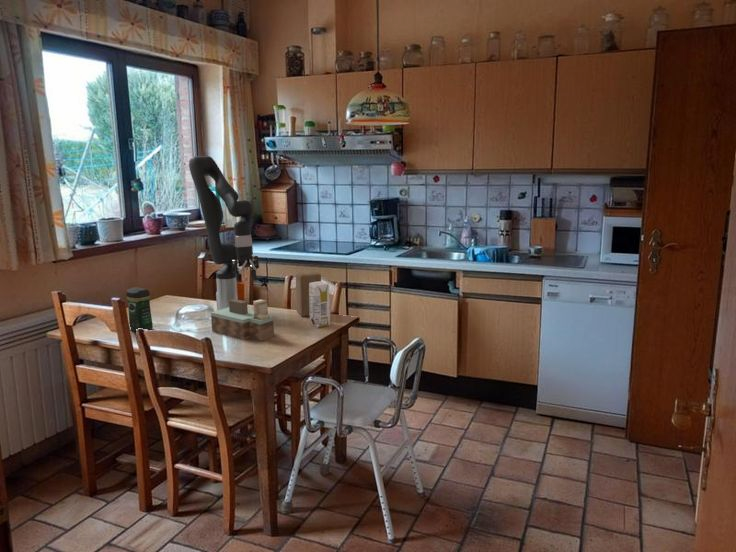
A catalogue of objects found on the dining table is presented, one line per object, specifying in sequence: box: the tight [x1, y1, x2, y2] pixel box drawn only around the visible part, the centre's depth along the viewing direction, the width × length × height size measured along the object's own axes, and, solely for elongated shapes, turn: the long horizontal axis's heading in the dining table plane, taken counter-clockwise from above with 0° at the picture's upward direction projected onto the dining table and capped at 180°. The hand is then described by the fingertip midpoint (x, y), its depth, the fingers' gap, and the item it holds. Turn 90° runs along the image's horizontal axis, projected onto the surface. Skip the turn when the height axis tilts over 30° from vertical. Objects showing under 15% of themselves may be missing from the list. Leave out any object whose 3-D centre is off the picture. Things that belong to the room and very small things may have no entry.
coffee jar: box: [126, 286, 154, 332], centre depth 245 cm, size 10×8×19 cm
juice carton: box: [309, 280, 331, 329], centre depth 250 cm, size 8×9×19 cm
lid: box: [210, 299, 274, 324], centre depth 239 cm, size 27×13×8 cm, turn 54°
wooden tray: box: [210, 315, 275, 342], centre depth 240 cm, size 27×13×7 cm, turn 54°
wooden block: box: [295, 270, 322, 318], centre depth 268 cm, size 10×10×20 cm
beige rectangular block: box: [252, 298, 269, 320], centre depth 233 cm, size 4×4×11 cm
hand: (246, 280), depth 260 cm, fingers open, 8 cm apart
